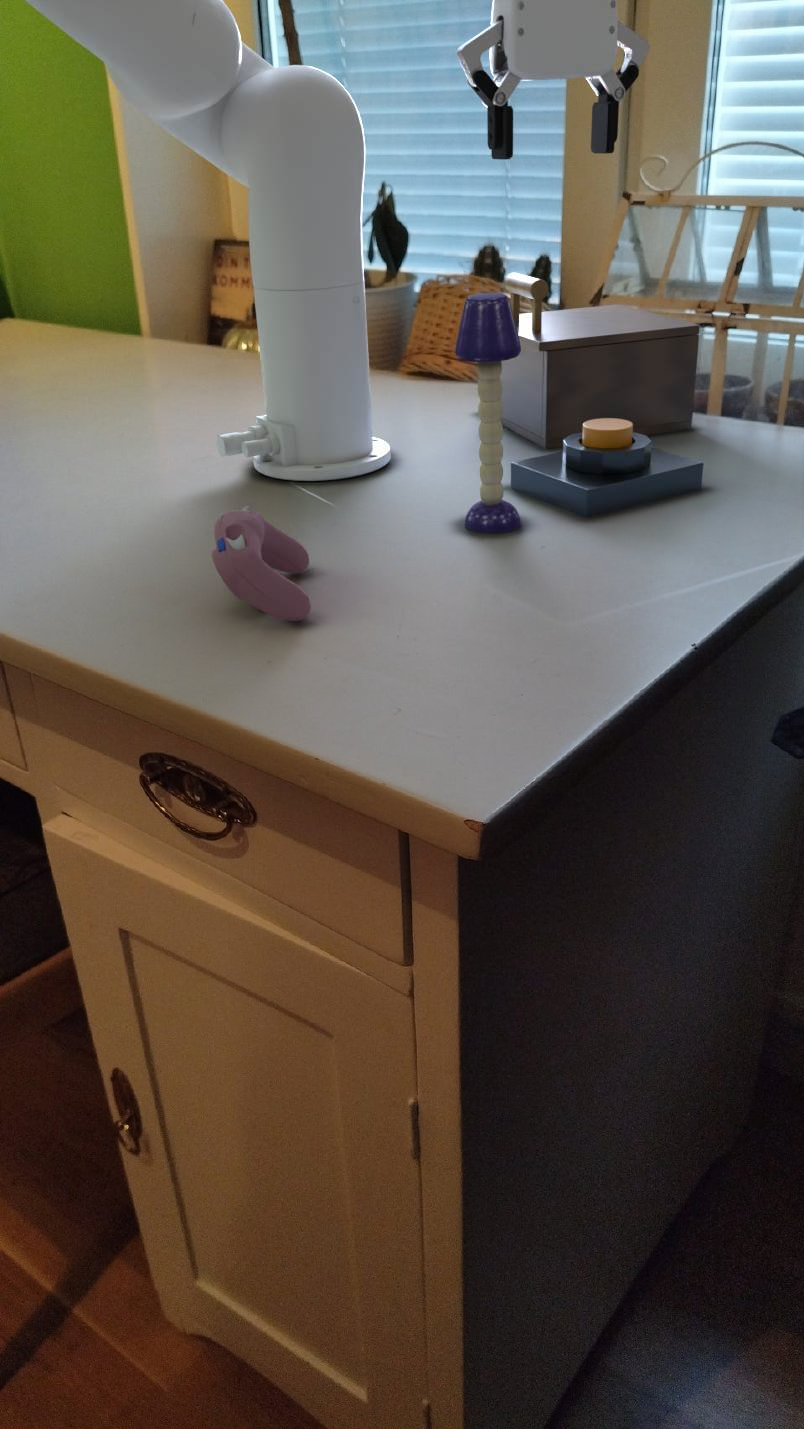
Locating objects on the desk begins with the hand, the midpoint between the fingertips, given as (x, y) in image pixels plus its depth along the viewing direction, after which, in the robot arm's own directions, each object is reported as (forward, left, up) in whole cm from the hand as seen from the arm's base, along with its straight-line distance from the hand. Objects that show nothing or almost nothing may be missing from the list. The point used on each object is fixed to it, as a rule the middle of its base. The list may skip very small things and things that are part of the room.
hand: (552, 156), depth 97 cm
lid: (+5, +1, -15) cm, 16 cm away
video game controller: (-41, -23, -24) cm, 53 cm away
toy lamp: (-21, -20, -24) cm, 38 cm away
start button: (-8, -18, -21) cm, 28 cm away
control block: (-8, -18, -24) cm, 31 cm away
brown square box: (+5, +1, -24) cm, 25 cm away
